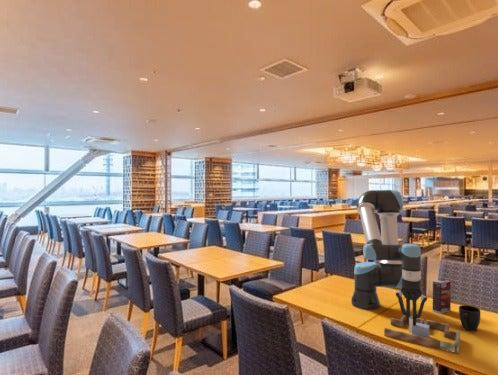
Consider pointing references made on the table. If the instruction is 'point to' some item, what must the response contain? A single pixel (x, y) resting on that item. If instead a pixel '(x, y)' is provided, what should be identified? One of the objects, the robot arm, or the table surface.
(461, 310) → the mug
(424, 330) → the block
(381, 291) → the table surface
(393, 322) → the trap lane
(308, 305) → the table surface
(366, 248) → the robot arm
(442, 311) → the supplement box
